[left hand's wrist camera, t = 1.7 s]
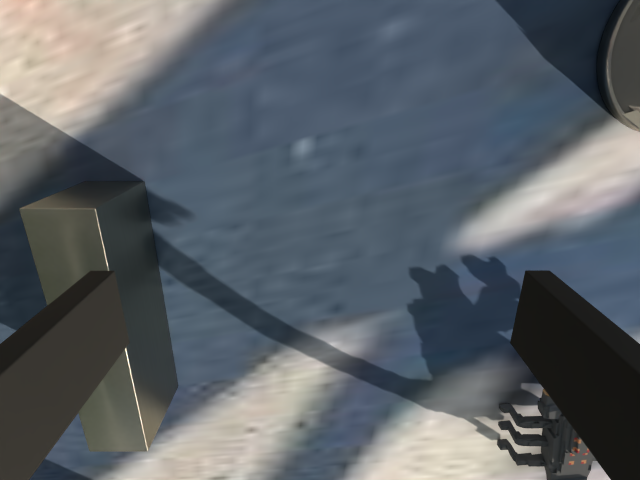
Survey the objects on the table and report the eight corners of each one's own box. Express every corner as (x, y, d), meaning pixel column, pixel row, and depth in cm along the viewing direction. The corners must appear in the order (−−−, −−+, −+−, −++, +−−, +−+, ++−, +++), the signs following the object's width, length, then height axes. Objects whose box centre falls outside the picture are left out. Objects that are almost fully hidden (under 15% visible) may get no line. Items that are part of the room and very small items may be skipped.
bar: (85, 181, 40) (18, 208, 31) (144, 181, 40) (95, 208, 31) (130, 386, 49) (89, 451, 41) (178, 386, 49) (147, 451, 41)
